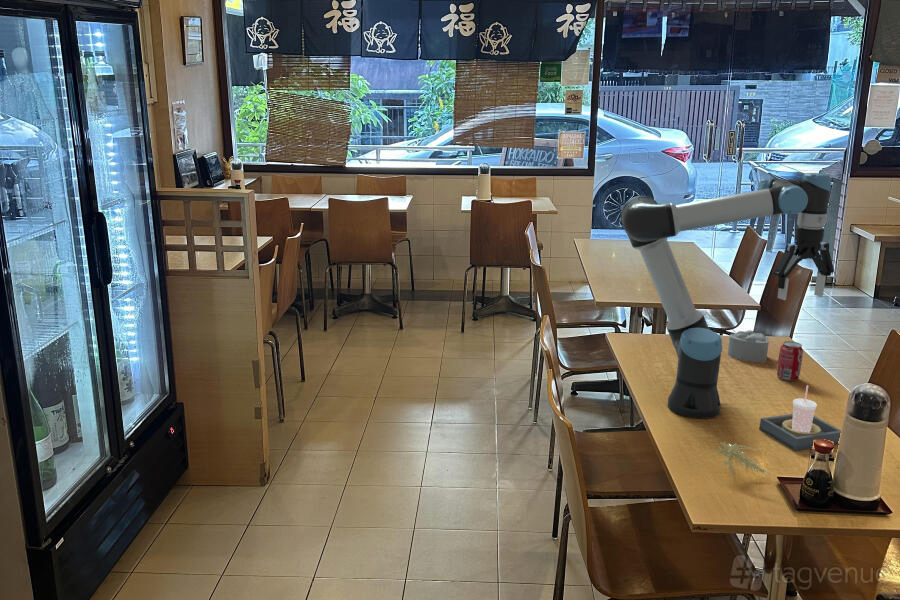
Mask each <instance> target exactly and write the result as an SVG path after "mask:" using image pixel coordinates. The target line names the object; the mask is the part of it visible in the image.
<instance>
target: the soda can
mask: <svg viewBox="0 0 900 600" xmlns="http://www.w3.org/2000/svg"><path fill="white" fill-rule="evenodd" d="M802 346H803V345H802V344H801V343H800V342H797V341H791V340H788V341H787V340H786V341H784V342H782V345H781V346H780V348H779V353H778V360H777V361H778V362H777V368H776V375H777V377H778V378H779V379H781V380H782V381H786V382H794V381H796V380H799V378H800V375H801V369H802V362H803V356H804V350H803V348H802Z"/></svg>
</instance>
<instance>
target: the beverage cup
mask: <svg viewBox="0 0 900 600" xmlns="http://www.w3.org/2000/svg"><path fill="white" fill-rule="evenodd" d="M808 390H809V385H808V384H807V385H806V388H805V394H804V398H794V399H793V400H792V405H793V407H792V414H793V419H792V429H793V430H796V431H799V432H807V433H810V430H811V425H812V421H813V417H814V416H815V411H816V409H817V406H818V404H817V403H816V401H813V400H811V399H808Z"/></svg>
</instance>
